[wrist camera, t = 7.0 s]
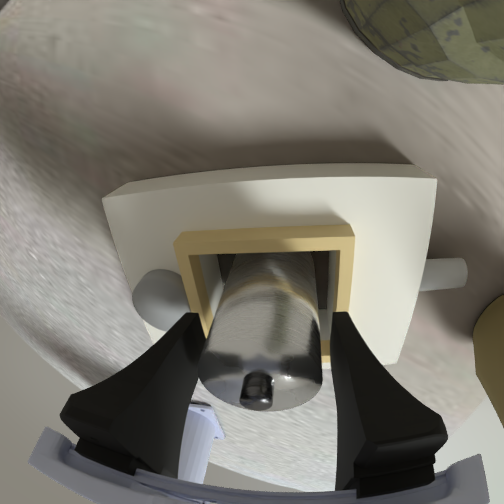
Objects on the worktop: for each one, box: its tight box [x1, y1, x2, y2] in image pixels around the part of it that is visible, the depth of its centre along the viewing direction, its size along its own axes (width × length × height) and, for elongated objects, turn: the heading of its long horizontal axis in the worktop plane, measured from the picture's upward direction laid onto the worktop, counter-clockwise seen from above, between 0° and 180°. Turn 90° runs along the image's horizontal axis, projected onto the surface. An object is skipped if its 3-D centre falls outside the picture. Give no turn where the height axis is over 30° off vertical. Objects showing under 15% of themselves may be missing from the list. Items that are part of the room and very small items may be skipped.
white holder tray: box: [102, 163, 468, 369], centre depth 15 cm, size 20×12×4 cm, turn 96°
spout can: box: [197, 251, 323, 411], centre depth 13 cm, size 5×5×9 cm
